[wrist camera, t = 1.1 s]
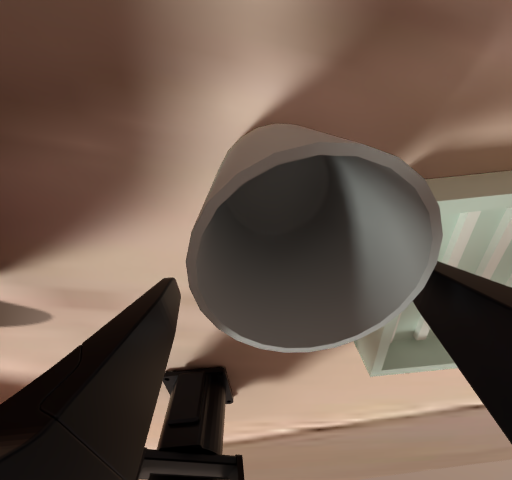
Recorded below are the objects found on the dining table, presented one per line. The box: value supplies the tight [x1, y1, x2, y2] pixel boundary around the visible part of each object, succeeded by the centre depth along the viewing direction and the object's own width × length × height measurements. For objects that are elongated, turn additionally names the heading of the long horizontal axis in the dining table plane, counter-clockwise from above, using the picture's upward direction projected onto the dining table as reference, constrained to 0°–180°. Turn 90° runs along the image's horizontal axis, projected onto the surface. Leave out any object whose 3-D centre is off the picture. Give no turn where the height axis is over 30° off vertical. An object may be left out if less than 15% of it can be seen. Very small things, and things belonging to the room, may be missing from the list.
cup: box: [186, 123, 443, 353], centre depth 11 cm, size 7×10×9 cm
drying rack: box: [354, 170, 512, 377], centre depth 17 cm, size 16×14×4 cm
